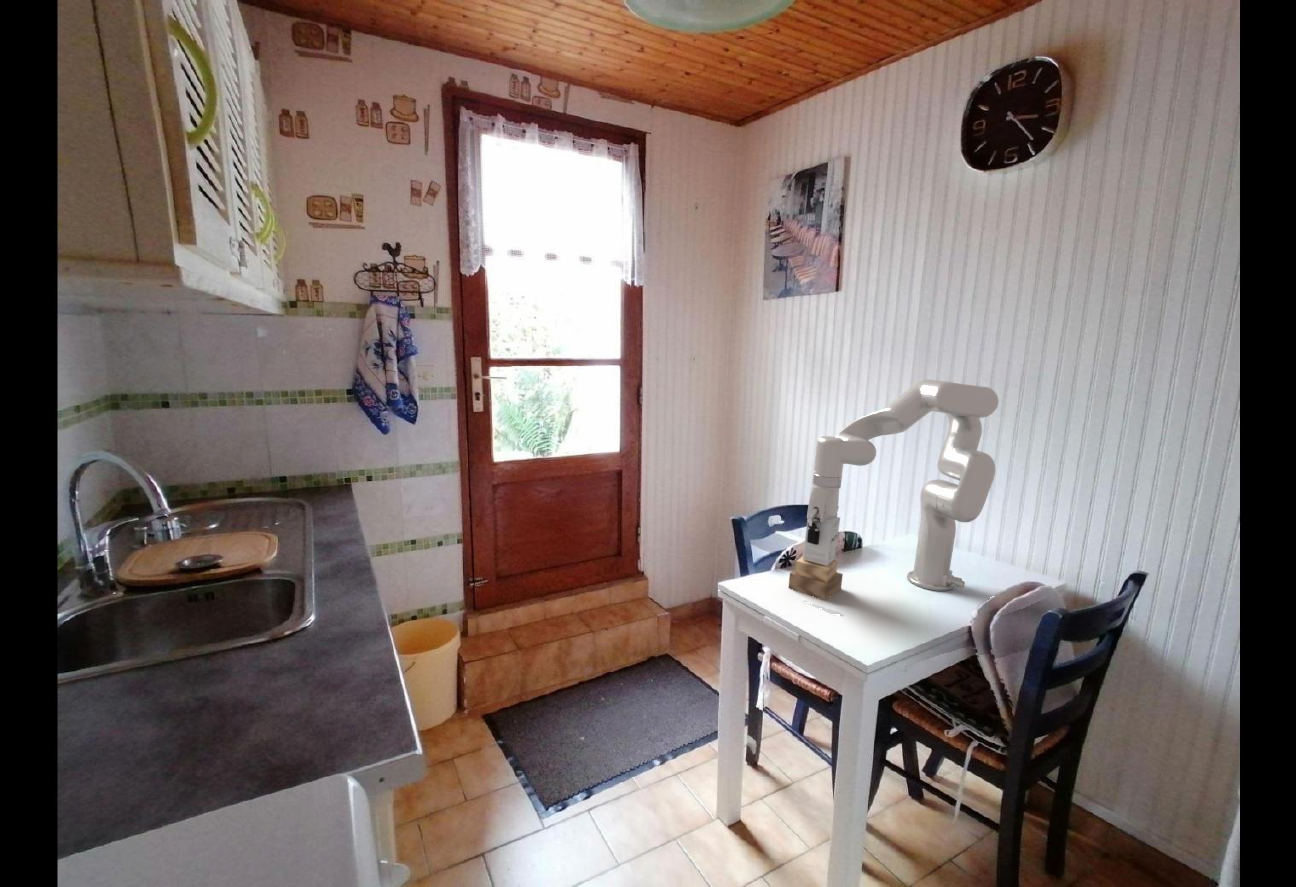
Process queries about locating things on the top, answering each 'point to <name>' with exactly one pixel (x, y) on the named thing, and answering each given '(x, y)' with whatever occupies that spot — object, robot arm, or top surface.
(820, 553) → the supplement box
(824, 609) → the butter knife
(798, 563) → the tower top
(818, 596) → the tower base
